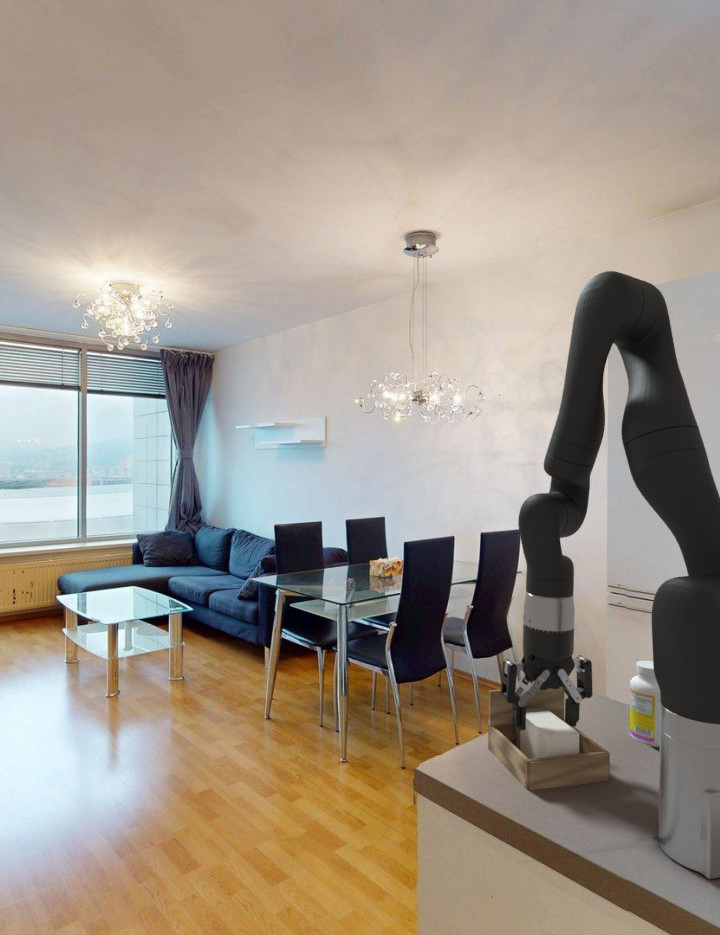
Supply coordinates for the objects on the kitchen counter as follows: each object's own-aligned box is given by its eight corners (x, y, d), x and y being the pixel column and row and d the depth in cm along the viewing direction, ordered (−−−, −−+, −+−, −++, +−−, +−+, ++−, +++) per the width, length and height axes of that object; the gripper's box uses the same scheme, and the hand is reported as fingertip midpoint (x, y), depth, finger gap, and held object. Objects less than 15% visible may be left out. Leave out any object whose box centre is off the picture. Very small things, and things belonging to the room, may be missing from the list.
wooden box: (610, 784, 90) (611, 716, 90) (527, 794, 87) (528, 723, 87) (561, 744, 103) (562, 684, 103) (488, 752, 100) (488, 690, 100)
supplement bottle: (663, 733, 108) (664, 659, 108) (679, 750, 102) (680, 672, 102) (624, 730, 109) (624, 657, 109) (637, 748, 102) (638, 670, 102)
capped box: (578, 777, 91) (579, 733, 91) (547, 781, 90) (548, 736, 90) (543, 747, 101) (544, 707, 101) (515, 750, 100) (516, 709, 100)
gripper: (516, 631, 90) (513, 741, 91) (604, 627, 93) (601, 733, 94) (495, 617, 98) (492, 719, 98) (577, 614, 101) (574, 713, 101)
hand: (545, 726), depth 96 cm, fingers open, 8 cm apart
